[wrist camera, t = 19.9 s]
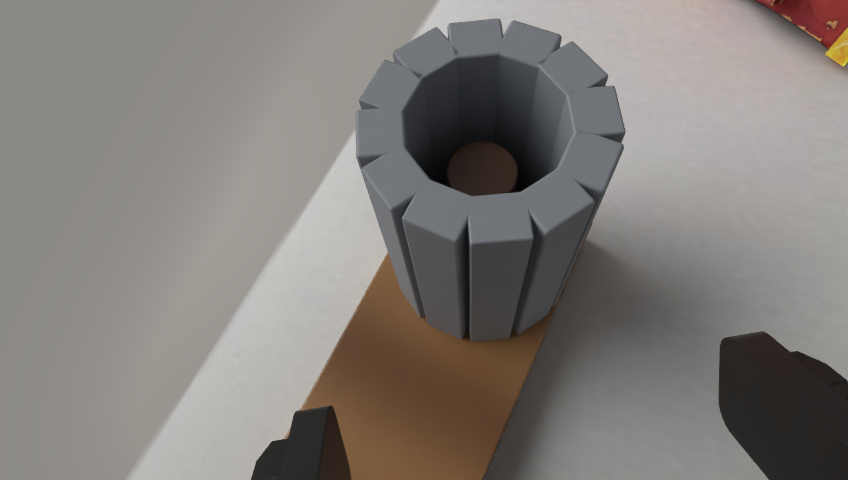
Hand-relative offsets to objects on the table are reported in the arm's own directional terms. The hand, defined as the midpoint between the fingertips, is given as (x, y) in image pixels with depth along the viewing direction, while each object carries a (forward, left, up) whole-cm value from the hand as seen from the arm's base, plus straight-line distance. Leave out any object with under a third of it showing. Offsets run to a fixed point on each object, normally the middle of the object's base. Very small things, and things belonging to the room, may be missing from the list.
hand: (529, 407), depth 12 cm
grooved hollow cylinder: (+5, +3, -6) cm, 9 cm away
